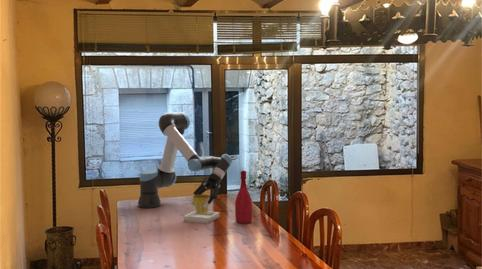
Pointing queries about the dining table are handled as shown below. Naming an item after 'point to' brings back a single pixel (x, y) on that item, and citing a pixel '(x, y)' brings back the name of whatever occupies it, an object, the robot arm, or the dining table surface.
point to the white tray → (201, 217)
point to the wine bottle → (243, 202)
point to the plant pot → (200, 203)
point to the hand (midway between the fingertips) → (198, 206)
